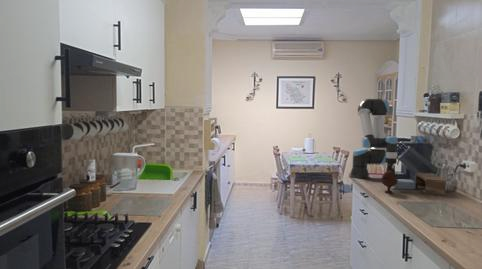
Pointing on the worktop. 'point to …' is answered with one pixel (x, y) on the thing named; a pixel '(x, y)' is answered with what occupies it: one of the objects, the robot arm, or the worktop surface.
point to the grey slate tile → (405, 184)
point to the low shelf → (430, 183)
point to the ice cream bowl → (389, 181)
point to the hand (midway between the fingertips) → (390, 186)
